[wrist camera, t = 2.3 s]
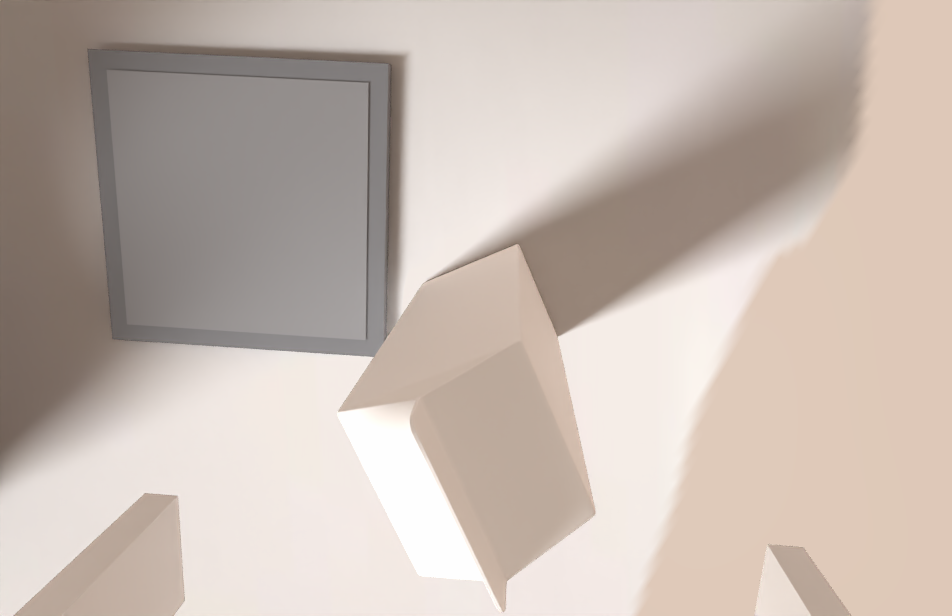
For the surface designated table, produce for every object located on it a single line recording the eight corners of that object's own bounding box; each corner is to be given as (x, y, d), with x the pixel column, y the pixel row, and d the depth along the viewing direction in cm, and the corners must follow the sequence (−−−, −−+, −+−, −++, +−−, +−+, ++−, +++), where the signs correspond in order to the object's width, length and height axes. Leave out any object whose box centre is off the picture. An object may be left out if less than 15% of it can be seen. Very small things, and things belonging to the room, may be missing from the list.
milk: (518, 242, 37) (527, 371, 16) (558, 338, 38) (619, 581, 17) (419, 283, 38) (299, 460, 16) (462, 376, 39) (402, 654, 18)
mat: (120, 335, 40) (111, 339, 39) (96, 50, 36) (86, 48, 35) (385, 353, 39) (382, 357, 38) (391, 65, 35) (387, 63, 34)
